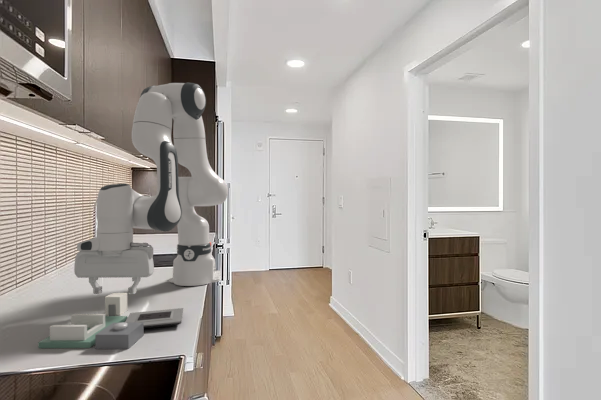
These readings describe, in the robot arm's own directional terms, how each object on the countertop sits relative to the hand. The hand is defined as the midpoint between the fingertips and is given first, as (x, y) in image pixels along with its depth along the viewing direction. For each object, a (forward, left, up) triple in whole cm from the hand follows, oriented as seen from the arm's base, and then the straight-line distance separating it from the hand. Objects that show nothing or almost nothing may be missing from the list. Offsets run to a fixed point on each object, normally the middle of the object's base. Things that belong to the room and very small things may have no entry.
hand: (115, 293), depth 96 cm
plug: (-1, 0, -6) cm, 6 cm away
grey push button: (+18, +11, -6) cm, 22 cm away
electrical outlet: (+7, +14, -6) cm, 17 cm away
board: (+13, 0, -6) cm, 14 cm away
